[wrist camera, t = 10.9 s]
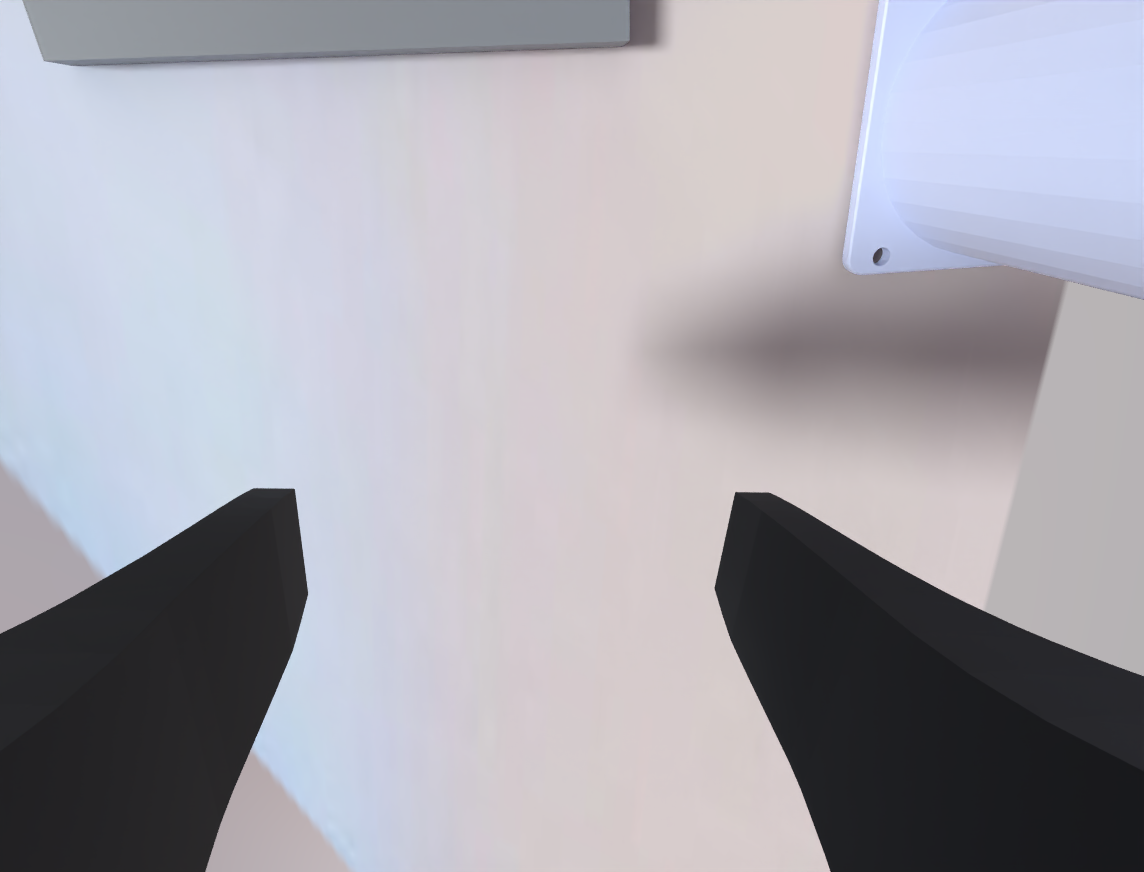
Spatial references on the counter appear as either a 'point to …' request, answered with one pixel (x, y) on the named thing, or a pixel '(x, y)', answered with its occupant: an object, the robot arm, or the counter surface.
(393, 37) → the plate
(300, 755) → the counter surface
